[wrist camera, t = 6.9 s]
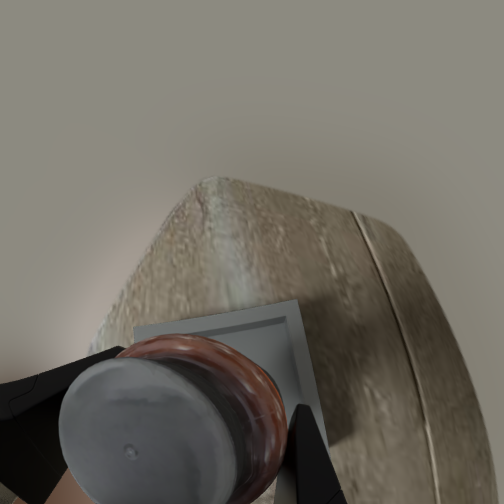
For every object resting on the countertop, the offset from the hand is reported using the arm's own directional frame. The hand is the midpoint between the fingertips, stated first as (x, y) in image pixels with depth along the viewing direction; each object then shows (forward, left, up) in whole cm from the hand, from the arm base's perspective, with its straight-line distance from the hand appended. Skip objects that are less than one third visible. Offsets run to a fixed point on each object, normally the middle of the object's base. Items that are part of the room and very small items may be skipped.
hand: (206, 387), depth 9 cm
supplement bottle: (-1, +1, -7) cm, 7 cm away
